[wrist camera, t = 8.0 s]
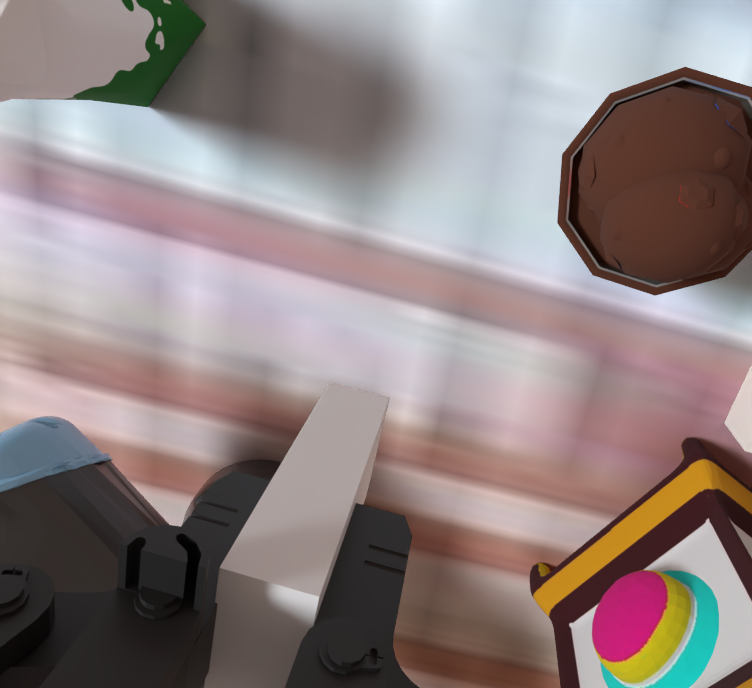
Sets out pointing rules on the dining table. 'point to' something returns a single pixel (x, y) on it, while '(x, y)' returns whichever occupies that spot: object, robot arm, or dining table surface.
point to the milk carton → (92, 48)
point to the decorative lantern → (660, 588)
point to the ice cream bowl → (662, 183)
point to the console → (742, 415)
